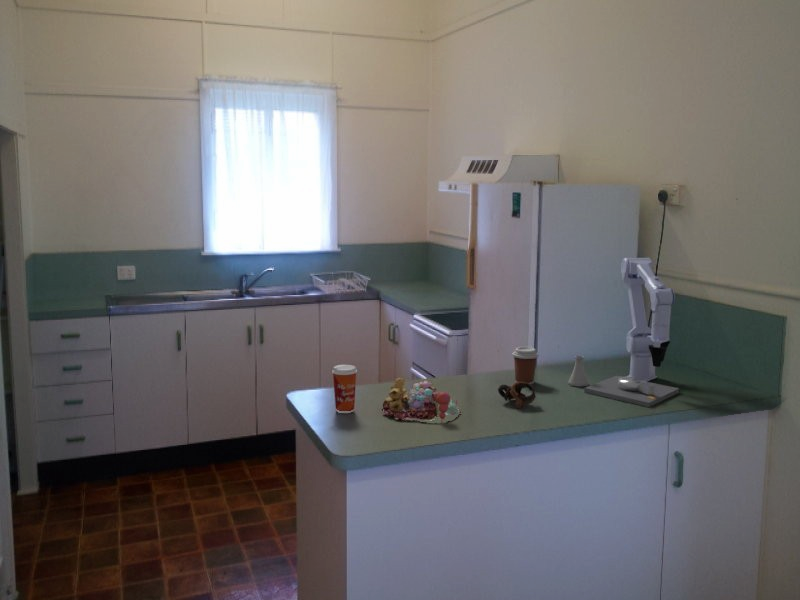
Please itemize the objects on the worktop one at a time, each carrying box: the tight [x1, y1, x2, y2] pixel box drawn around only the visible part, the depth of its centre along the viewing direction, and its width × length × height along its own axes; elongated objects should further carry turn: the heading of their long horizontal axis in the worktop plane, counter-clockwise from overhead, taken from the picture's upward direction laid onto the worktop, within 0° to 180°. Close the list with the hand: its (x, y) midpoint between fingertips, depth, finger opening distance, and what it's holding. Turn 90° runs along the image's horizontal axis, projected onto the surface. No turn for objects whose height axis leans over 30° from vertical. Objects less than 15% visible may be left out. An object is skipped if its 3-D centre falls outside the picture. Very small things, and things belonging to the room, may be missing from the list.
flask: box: [567, 355, 590, 387], centre depth 264 cm, size 7×7×10 cm
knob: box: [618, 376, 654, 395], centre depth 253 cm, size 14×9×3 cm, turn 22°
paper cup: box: [331, 364, 358, 411], centre depth 234 cm, size 8×8×14 cm
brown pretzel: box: [497, 382, 537, 409], centre depth 242 cm, size 12×10×8 cm
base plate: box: [584, 375, 680, 408], centre depth 256 cm, size 22×23×2 cm
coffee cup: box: [511, 346, 540, 385], centre depth 267 cm, size 9×9×12 cm
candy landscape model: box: [381, 377, 459, 422], centre depth 235 cm, size 25×24×9 cm
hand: (658, 363), depth 257 cm, fingers open, 7 cm apart
